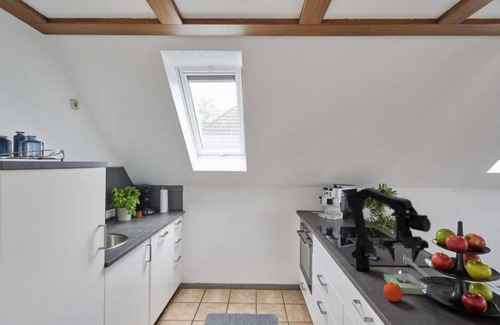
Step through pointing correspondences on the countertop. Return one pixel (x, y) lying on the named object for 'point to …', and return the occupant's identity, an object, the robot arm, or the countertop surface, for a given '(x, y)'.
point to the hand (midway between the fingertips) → (403, 261)
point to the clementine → (393, 291)
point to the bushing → (403, 276)
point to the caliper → (408, 261)
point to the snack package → (374, 254)
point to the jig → (406, 284)
